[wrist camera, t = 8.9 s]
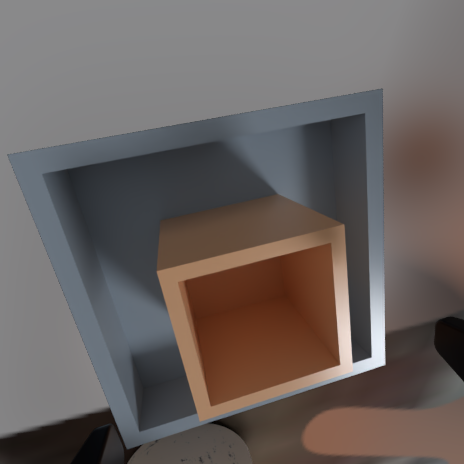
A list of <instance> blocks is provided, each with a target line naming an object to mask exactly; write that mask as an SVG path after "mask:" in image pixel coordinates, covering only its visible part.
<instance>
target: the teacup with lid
mask: <svg viewBox="0 0 464 464" xmlns="http://www.w3.org/2000/svg"><path fill="white" fill-rule="evenodd" d="M127 464H253V463H252V460H251V456H250V452H249V450H248V447H247V445H246V444H245V442H244V441H243V440H242V438H241V437H240V436H239V435H237V434H236V433H235V432H233V431H232V430H230V429H228V428H226V427H223V426H220V425H216V424H210V423H206V424H203V425H200V426H197V427H194V428H191V429H188V430H185V431H182V432H179V433H176V434H173V435H170V436H167V437H164V438H161V439H158V440H154V441H151V442H148V443H145V444H143V445H142V446H141V447H140V448H139V449H138V450H137V451H136V452H135V453H134V454H133V456H132V457H131V458H130V460H129V461H128V463H127Z"/></svg>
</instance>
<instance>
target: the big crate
mask: <svg viewBox="0 0 464 464" xmlns="http://www.w3.org/2000/svg"><path fill="white" fill-rule="evenodd" d="M382 92H383V89H377V90H372V91H366V92H360V93H354V94H349V95H343V96H337V97H332V98H326V99H320V100H315V101H309V102H303V103H298V104H293V105H286V106H281V107H275V108H269V109H264V110H258V111H252V112H247V113H241V114H236V115H229V116H224V117H218V118H212V119H207V120H202V121H195V122H190V123H184V124H179V125H173V126H167V127H161V128H156V129H150V130H145V131H139V132H133V133H127V134H122V135H116V136H110V137H105V138H99V139H94V140H88V141H82V142H76V143H71V144H65V145H60V146H54V147H48V148H42V149H37V150H31V151H25V152H20V153H14V154H8V158H9V160H10V162H11V165H12V168H13V170H14V173H15V175H16V177H17V180H18V182H19V185H20V187H21V190H22V192H23V195H24V197H25V200H26V202H27V204H28V207H29V210H30V212H31V214H32V217H33V219H34V222H35V224H36V227H37V229H38V232H39V234H40V237H41V239H42V241H43V244H44V246H45V248H46V251H47V254H48V256H49V259H50V261H51V263H52V266H53V269H54V271H55V273H56V276H57V278H58V281H59V283H60V286H61V288H62V291H63V293H64V296H65V298H66V300H67V303H68V305H69V308H70V310H71V313H72V315H73V318H74V320H75V323H76V325H77V328H78V330H79V332H80V335H81V337H82V340H83V342H84V345H85V347H86V350H87V352H88V355H89V357H90V359H91V362H92V364H93V367H94V369H95V372H96V374H97V376H98V379H99V381H100V384H101V386H102V389H103V391H104V394H105V396H106V399H107V401H108V404H109V406H110V409H111V411H112V414H113V416H114V418H115V421H116V423H117V426H118V428H119V431H120V433H121V436H122V438H123V441H124V443H125V445H126V448H127V449H130V448H133V447H136V446H139V445H142V444H145V443H148V442H151V441H154V440H158V439H161V438H164V437H167V436H170V435H173V434H176V433H179V432H182V431H185V430H188V429H191V428H194V427H197V426H200V425H203V424H206V423H209V422H212V421H215V420H218V419H222V418H225V417H228V416H231V415H234V414H237V413H240V412H243V411H246V410H249V409H252V408H255V407H258V406H261V405H264V404H267V403H270V402H273V401H276V400H279V399H282V398H286V397H289V396H292V395H295V394H298V393H301V392H304V391H307V390H310V389H313V388H316V387H319V386H322V385H325V384H328V383H331V382H334V381H337V380H340V379H343V378H346V377H350V376H353V375H356V374H359V373H362V372H365V371H368V370H371V369H374V368H377V367H380V366H383V365H385V306H384V305H385V304H384V303H385V297H384V200H383V199H384V195H383V194H384V192H383V191H384V189H383V93H382ZM276 194H279V195H281V196H284V197H286V198H288V199H290V200H292V201H294V202H297V203H299V204H301V205H303V206H305V207H308V208H310V209H312V210H314V211H316V212H318V213H321V214H323V215H325V216H327V217H329V218H331V219H334V220H336V221H338V222H340V223H342V224H344V226H345V243H346V260H347V278H348V295H349V312H350V330H351V347H352V364H353V372H350V373H347V374H344V375H341V376H338V377H334V378H331V379H328V380H325V381H322V382H319V383H316V384H313V385H310V386H307V387H304V388H301V389H298V390H295V391H292V392H289V393H286V394H283V395H280V396H277V397H274V398H271V399H268V400H265V401H262V402H259V403H255V404H252V405H249V406H246V407H243V408H240V409H237V410H234V411H231V412H228V413H225V414H222V415H219V416H216V417H213V418H210V419H207V420H204V421H201V422H200V420H199V417H198V413H197V410H196V406H195V403H194V400H193V396H192V393H191V389H190V386H189V382H188V379H187V375H186V372H185V368H184V365H183V361H182V358H181V354H180V351H179V347H178V344H177V341H176V337H175V334H174V330H173V327H172V323H171V320H170V316H169V313H168V309H167V306H166V302H165V299H164V295H163V292H162V288H161V285H160V282H159V278H158V275H157V259H158V246H159V233H160V220H165V219H169V218H174V217H178V216H183V215H187V214H191V213H196V212H200V211H205V210H209V209H214V208H218V207H223V206H227V205H231V204H236V203H240V202H245V201H249V200H254V199H258V198H263V197H267V196H271V195H276Z"/></svg>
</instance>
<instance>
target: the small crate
mask: <svg viewBox="0 0 464 464" xmlns="http://www.w3.org/2000/svg"><path fill="white" fill-rule="evenodd" d="M157 275H158V278H159V282H160V285H161V288H162V292H163V295H164V299H165V302H166V306H167V309H168V313H169V316H170V320H171V323H172V327H173V330H174V334H175V337H176V341H177V344H178V347H179V351H180V354H181V358H182V361H183V365H184V368H185V372H186V375H187V379H188V382H189V386H190V389H191V393H192V396H193V400H194V403H195V406H196V410H197V413H198V417H199V420H200V422H201V421H204V420H207V419H210V418H213V417H216V416H219V415H222V414H225V413H228V412H231V411H234V410H237V409H240V408H243V407H246V406H249V405H252V404H255V403H259V402H262V401H265V400H268V399H271V398H274V397H277V396H280V395H283V394H286V393H289V392H292V391H295V390H298V389H301V388H304V387H307V386H310V385H313V384H316V383H319V382H322V381H325V380H328V379H331V378H334V377H338V376H341V375H344V374H347V373H350V372H353V364H352V347H351V330H350V312H349V295H348V278H347V260H346V243H345V226H344V224H342V223H340V222H338V221H336V220H334V219H331V218H329V217H327V216H325V215H323V214H321V213H318V212H316V211H314V210H312V209H310V208H308V207H305V206H303V205H301V204H299V203H297V202H294V201H292V200H290V199H288V198H286V197H284V196H281V195H279V194H276V195H271V196H267V197H263V198H258V199H254V200H249V201H245V202H240V203H236V204H231V205H227V206H223V207H218V208H214V209H209V210H205V211H200V212H196V213H191V214H187V215H183V216H178V217H174V218H169V219H165V220H160V233H159V246H158V259H157Z"/></svg>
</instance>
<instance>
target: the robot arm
mask: <svg viewBox="0 0 464 464" xmlns="http://www.w3.org/2000/svg"><path fill="white" fill-rule="evenodd" d="M434 345H435V348H436V350H437V352H438V353H439V354H440V355H441V356H442V358H443V359H444V360H445V361H446V362H447V363H448V364H449V365H450V367H451V368H452V369H453V370H454V371H455V372H456V373H457V375H458V376H459V377H460V378H461V379H462V380H463V381H464V320H463V319H459V318H455V317H446V318H443V319H440V320H438V321H437V322H436V323H435V337H434ZM70 464H124V449H123V446H122V443H121V441H120V438H119V436H118V434H117V431H116V429H115V427H114V425H113V424H107V425H104V426H101V427H98V428H96V429H94V430H93V431H92V433H91V434H90V435H89V437H88V438H87V440H86V441H85V443H84V444H83V446H82V447H81V449H80V450H79V452H78V453H77V455H76V456H75V457H74V459H73V460H72V462H71V463H70Z"/></svg>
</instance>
